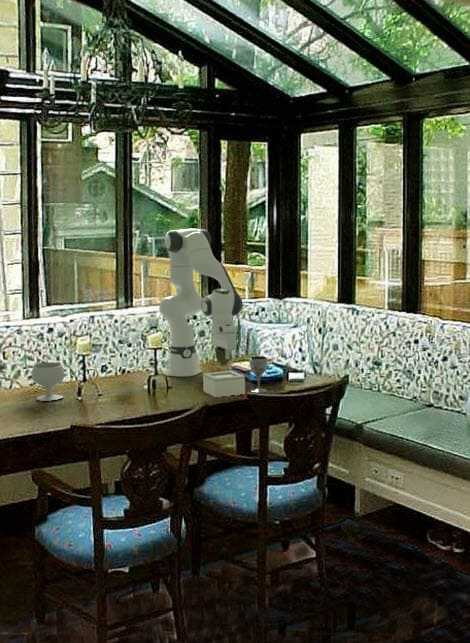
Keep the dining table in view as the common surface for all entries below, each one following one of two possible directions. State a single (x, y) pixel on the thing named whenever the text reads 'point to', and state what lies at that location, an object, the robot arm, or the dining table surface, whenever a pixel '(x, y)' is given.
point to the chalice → (48, 378)
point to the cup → (222, 356)
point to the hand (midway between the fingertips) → (223, 357)
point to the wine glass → (258, 369)
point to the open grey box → (223, 383)
